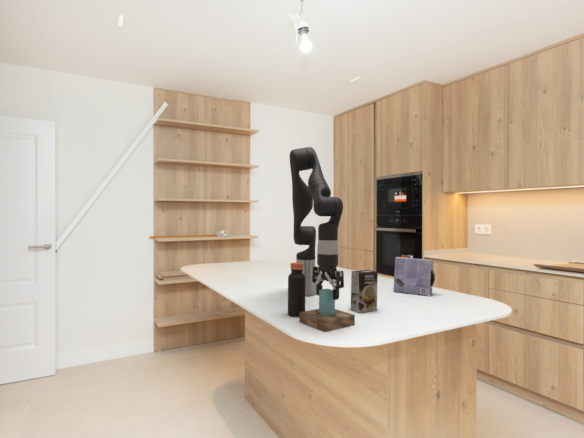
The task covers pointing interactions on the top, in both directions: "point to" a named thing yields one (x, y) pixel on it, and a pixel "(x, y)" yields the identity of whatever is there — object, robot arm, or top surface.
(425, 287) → the cake pan box
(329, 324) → the socket block
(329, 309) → the peg
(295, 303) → the bottle
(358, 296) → the coffee box
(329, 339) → the top surface
